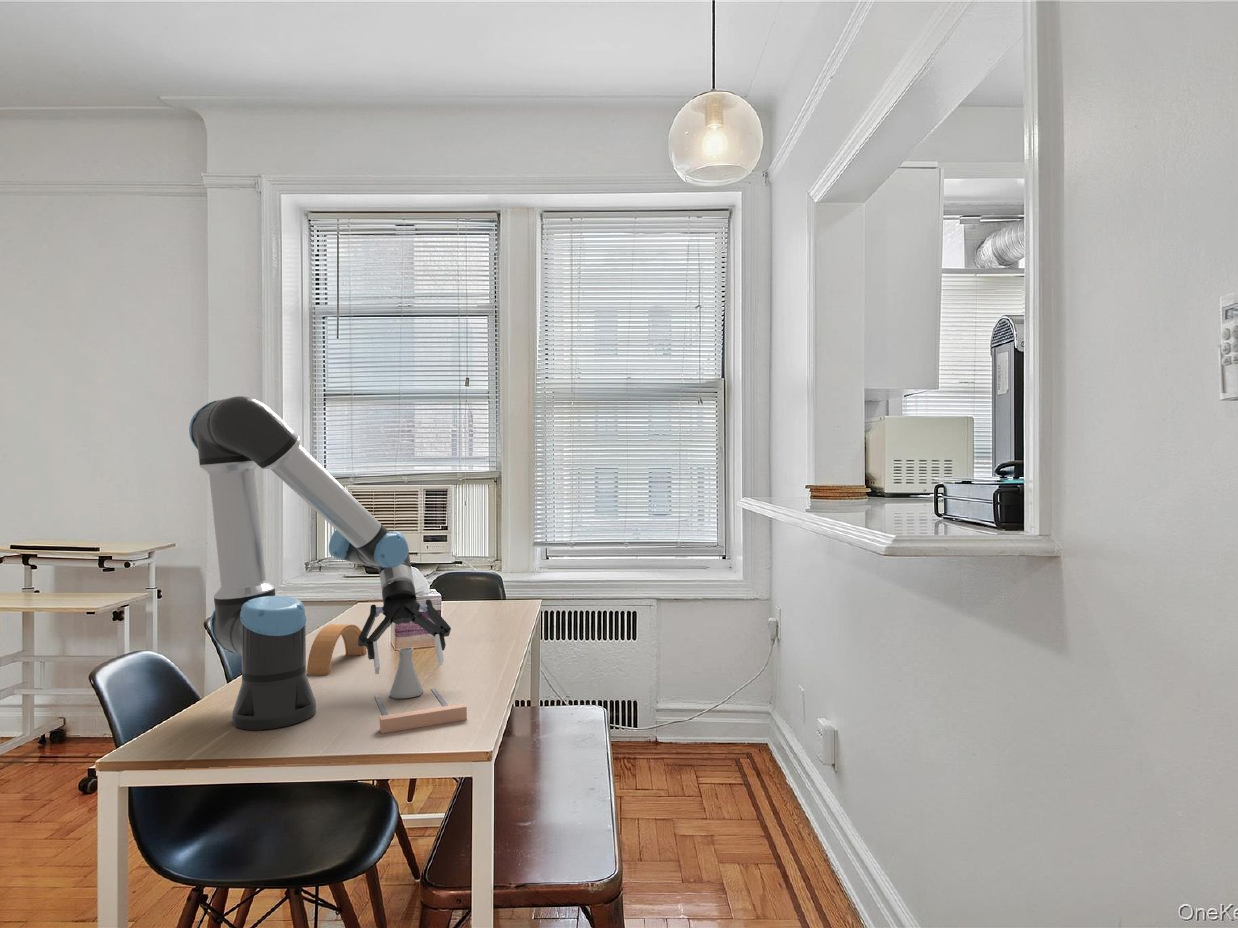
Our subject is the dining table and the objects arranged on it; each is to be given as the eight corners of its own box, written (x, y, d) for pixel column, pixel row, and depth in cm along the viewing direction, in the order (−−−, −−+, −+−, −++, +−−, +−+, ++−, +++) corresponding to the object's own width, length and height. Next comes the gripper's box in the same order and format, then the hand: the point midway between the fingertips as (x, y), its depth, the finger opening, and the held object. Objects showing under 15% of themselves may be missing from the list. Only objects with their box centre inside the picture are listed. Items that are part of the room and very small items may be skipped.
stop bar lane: (381, 733, 136) (381, 719, 136) (367, 698, 157) (367, 686, 158) (466, 719, 143) (466, 706, 143) (442, 687, 164) (442, 676, 164)
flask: (388, 692, 162) (387, 646, 162) (421, 688, 164) (421, 643, 165) (390, 701, 155) (389, 654, 155) (425, 697, 158) (424, 650, 158)
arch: (367, 654, 197) (366, 617, 197) (328, 675, 177) (328, 634, 177) (346, 654, 198) (346, 617, 198) (306, 674, 178) (305, 633, 178)
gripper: (448, 592, 182) (463, 667, 168) (341, 602, 171) (348, 683, 157) (452, 574, 177) (469, 649, 163) (343, 583, 166) (350, 664, 152)
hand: (410, 666), depth 160 cm, fingers open, 13 cm apart
